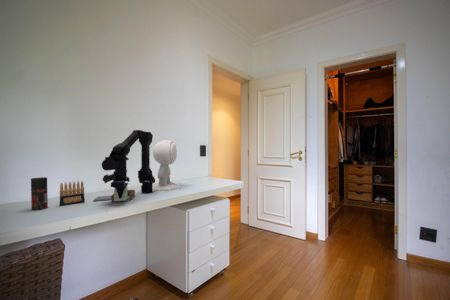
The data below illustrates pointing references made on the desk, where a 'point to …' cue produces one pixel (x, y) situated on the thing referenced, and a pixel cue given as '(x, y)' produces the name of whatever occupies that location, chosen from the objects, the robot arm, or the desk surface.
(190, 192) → the desk surface
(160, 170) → the big headed doll
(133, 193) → the frame
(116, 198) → the block
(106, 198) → the mat
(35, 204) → the black red box
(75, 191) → the ammunition clip
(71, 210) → the desk surface
